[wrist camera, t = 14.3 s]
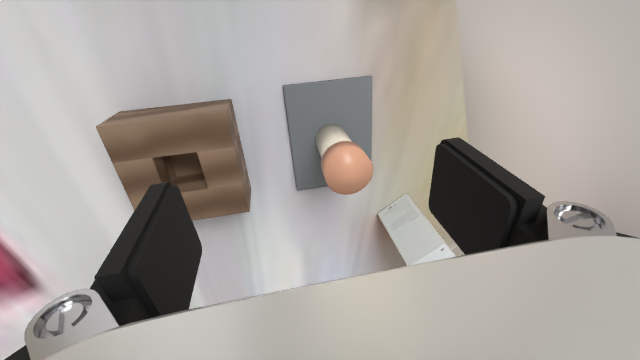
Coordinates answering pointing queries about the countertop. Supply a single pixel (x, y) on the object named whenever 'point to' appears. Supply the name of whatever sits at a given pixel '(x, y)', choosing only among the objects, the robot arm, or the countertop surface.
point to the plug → (342, 160)
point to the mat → (326, 121)
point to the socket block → (181, 155)
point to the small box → (413, 233)
